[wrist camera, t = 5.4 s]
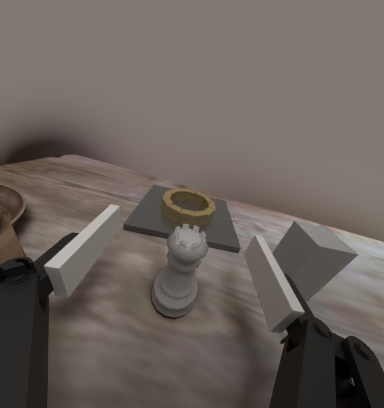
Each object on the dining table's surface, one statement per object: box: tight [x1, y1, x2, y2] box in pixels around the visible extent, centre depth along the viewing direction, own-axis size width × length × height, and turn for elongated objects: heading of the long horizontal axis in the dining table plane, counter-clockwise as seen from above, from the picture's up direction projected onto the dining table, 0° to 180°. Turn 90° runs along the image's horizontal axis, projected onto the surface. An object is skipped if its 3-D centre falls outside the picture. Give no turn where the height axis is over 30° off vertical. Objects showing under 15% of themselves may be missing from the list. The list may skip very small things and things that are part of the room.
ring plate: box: [124, 185, 241, 253], centre depth 27 cm, size 17×15×3 cm
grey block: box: [272, 221, 359, 301], centre depth 17 cm, size 4×4×8 cm
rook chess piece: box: [151, 224, 208, 318], centre depth 13 cm, size 4×4×8 cm
